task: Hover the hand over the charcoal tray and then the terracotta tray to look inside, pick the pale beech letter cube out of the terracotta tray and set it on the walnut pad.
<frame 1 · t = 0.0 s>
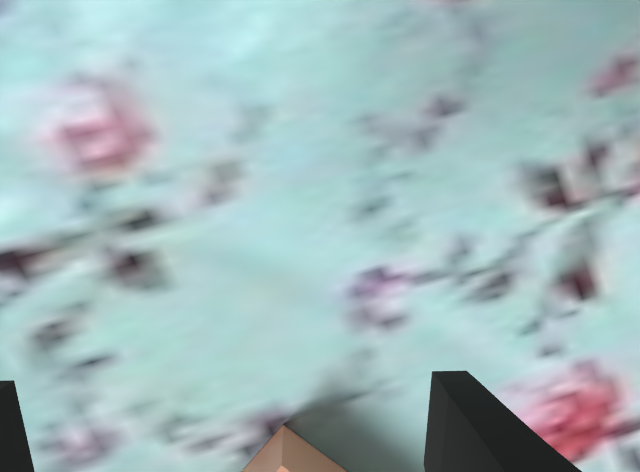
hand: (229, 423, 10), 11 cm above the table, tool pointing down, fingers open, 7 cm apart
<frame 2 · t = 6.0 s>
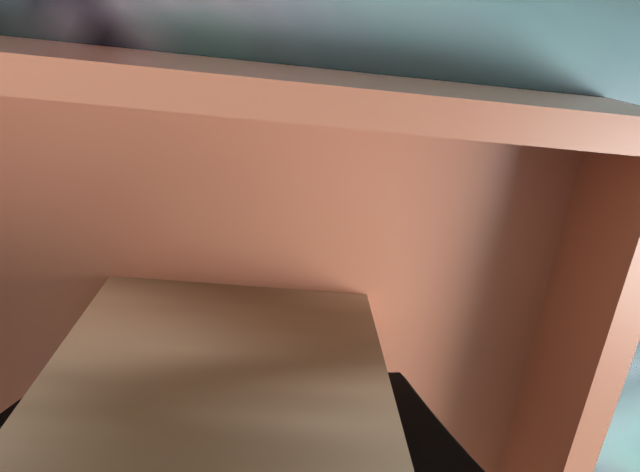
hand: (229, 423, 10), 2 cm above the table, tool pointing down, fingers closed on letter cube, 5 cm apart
letter cube: (234, 391, 11), point 1 cm above the table, touching gripper, terracotta tray
terracotta tray: (237, 373, 11), on the table
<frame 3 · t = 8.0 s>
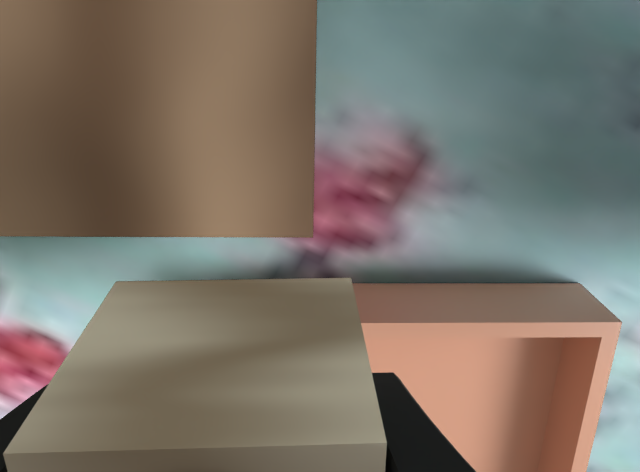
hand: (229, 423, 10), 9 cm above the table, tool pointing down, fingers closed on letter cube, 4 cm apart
letter cube: (240, 377, 12), point 7 cm above the table, touching gripper
walnut pad: (135, 56, 16), on the table
terracotta tray: (390, 430, 21), on the table
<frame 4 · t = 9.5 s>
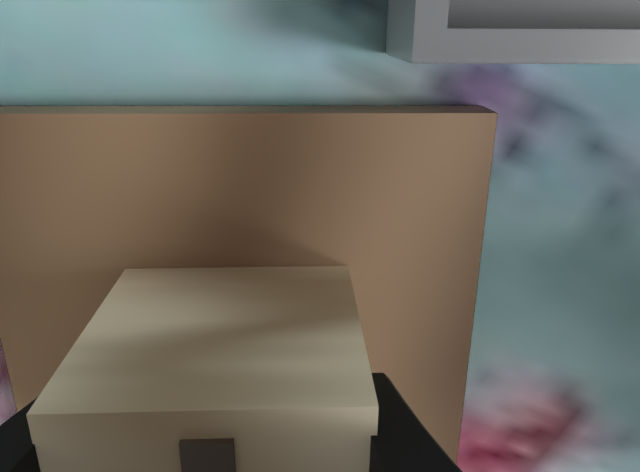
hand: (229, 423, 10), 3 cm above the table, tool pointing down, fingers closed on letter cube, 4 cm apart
letter cube: (242, 361, 12), point 1 cm above the table, touching gripper, walnut pad
walnut pad: (245, 324, 13), on the table
when the fingers open (3 cm above the table, at t = 9.9 s): letter cube stays where it is, resting on walnut pad.
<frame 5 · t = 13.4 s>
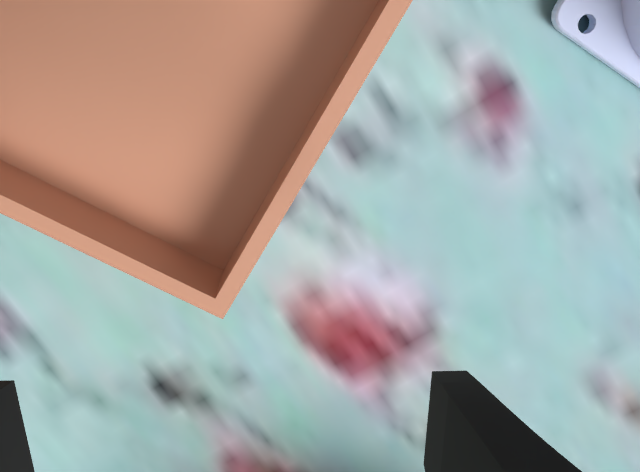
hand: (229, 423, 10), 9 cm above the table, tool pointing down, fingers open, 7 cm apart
terracotta tray: (141, 24, 16), on the table
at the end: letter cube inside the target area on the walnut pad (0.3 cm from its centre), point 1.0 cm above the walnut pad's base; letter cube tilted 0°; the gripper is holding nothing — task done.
